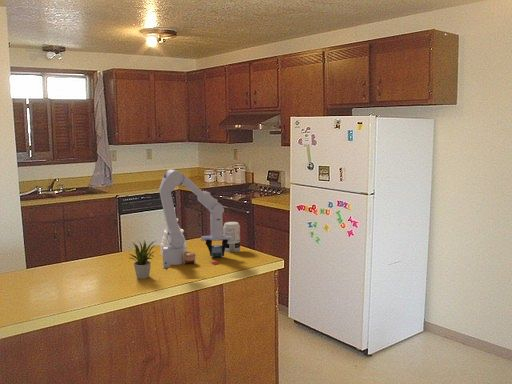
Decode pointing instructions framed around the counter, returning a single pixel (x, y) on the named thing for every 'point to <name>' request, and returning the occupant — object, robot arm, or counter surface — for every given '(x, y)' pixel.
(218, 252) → the slate-blue dome with prongs
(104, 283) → the counter surface
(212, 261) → the red marble
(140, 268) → the house plant
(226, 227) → the supplement can
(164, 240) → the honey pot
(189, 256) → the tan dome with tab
